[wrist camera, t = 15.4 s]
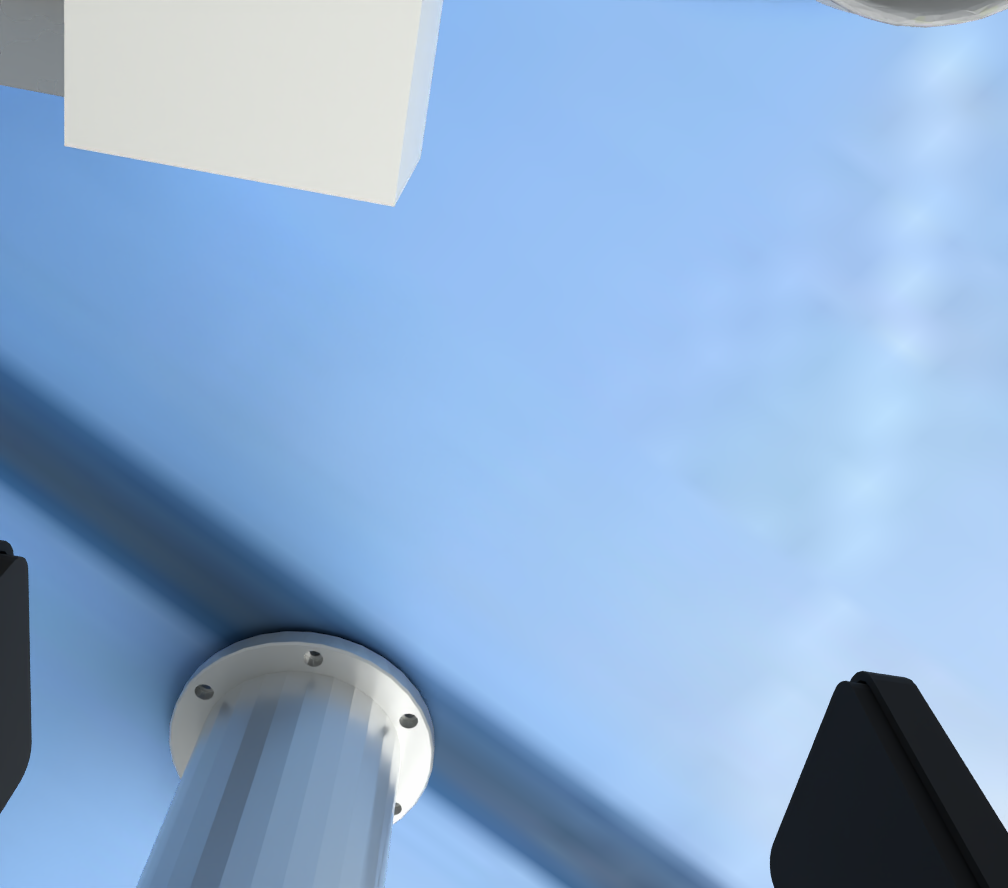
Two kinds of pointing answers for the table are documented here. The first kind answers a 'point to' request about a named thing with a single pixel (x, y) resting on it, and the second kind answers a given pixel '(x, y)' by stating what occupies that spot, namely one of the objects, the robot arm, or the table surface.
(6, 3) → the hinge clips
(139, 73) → the cabinet
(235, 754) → the robot arm
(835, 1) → the teacup
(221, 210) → the table surface
